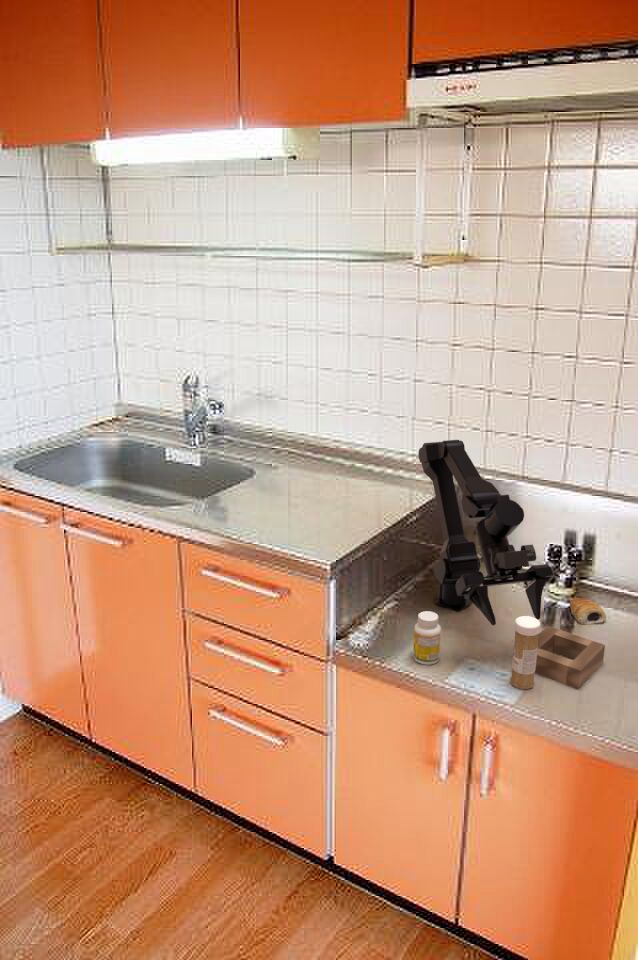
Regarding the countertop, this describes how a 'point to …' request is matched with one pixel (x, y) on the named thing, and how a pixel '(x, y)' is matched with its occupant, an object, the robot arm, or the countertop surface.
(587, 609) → the pastry
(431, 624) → the supplement bottle
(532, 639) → the sprinkles bottle
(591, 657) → the socket block
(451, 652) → the countertop surface
